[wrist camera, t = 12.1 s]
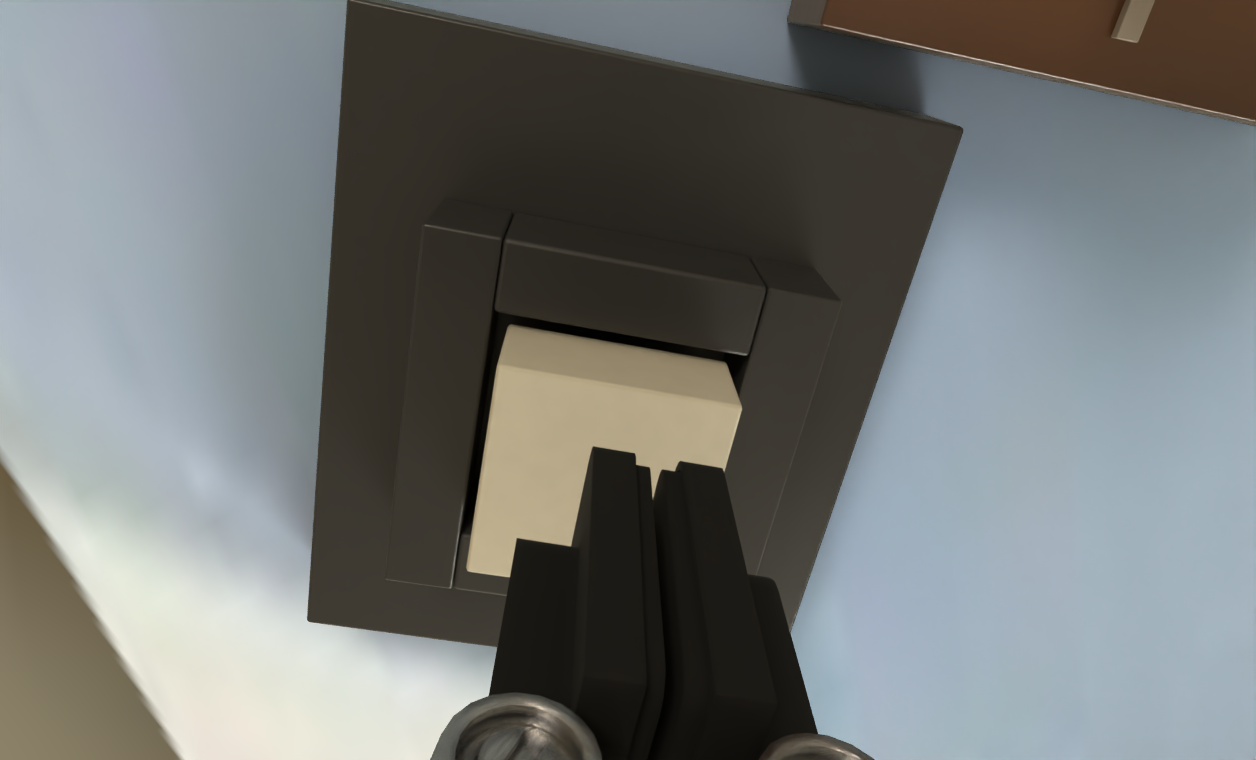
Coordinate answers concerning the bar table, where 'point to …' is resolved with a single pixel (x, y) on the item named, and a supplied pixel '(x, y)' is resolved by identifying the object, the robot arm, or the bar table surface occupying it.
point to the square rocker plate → (590, 283)
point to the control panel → (1076, 43)
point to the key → (586, 430)
